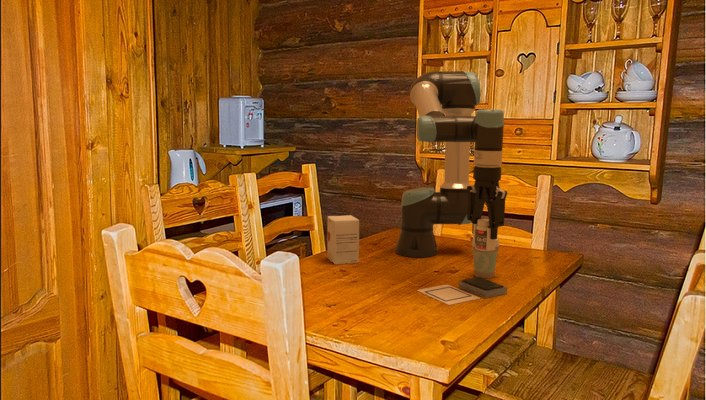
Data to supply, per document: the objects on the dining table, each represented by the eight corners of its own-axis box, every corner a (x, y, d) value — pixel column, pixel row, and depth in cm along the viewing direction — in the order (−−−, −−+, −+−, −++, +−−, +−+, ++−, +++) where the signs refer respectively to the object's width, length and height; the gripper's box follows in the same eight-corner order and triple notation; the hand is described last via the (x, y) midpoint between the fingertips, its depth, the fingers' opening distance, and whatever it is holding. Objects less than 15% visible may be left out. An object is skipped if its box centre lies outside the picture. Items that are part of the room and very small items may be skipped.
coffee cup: (465, 273, 177) (466, 236, 175) (488, 270, 180) (489, 234, 178) (479, 280, 169) (481, 242, 167) (503, 278, 172) (505, 240, 170)
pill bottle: (475, 250, 156) (476, 221, 154) (474, 246, 160) (475, 218, 159) (492, 251, 155) (493, 222, 153) (491, 247, 159) (493, 218, 158)
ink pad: (458, 287, 162) (459, 279, 162) (479, 283, 166) (479, 276, 166) (485, 298, 153) (485, 290, 152) (506, 293, 157) (507, 286, 156)
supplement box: (326, 258, 194) (326, 215, 191) (351, 256, 197) (351, 214, 194) (333, 265, 185) (334, 220, 183) (359, 262, 188) (359, 219, 186)
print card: (416, 290, 159) (416, 289, 159) (447, 285, 164) (447, 284, 164) (448, 305, 147) (448, 304, 147) (480, 298, 152) (480, 297, 152)
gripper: (455, 163, 159) (452, 243, 163) (501, 169, 144) (496, 256, 148) (475, 162, 163) (472, 240, 167) (521, 168, 148) (517, 253, 152)
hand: (483, 247), depth 157 cm, fingers closed on pill bottle, 5 cm apart
